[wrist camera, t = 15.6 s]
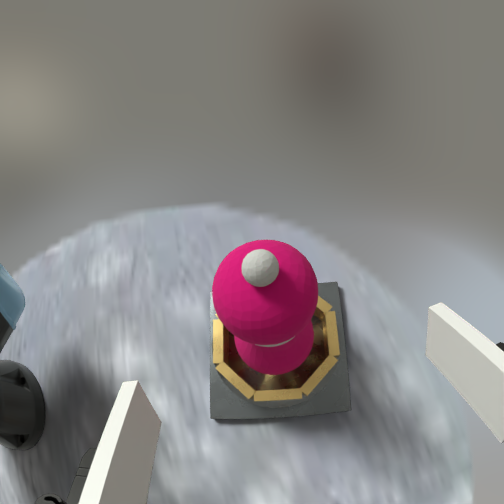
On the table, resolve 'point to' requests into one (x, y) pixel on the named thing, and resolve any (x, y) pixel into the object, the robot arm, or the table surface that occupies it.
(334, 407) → the silver and gold bowl
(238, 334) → the pepper mill
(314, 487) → the table surface
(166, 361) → the table surface
